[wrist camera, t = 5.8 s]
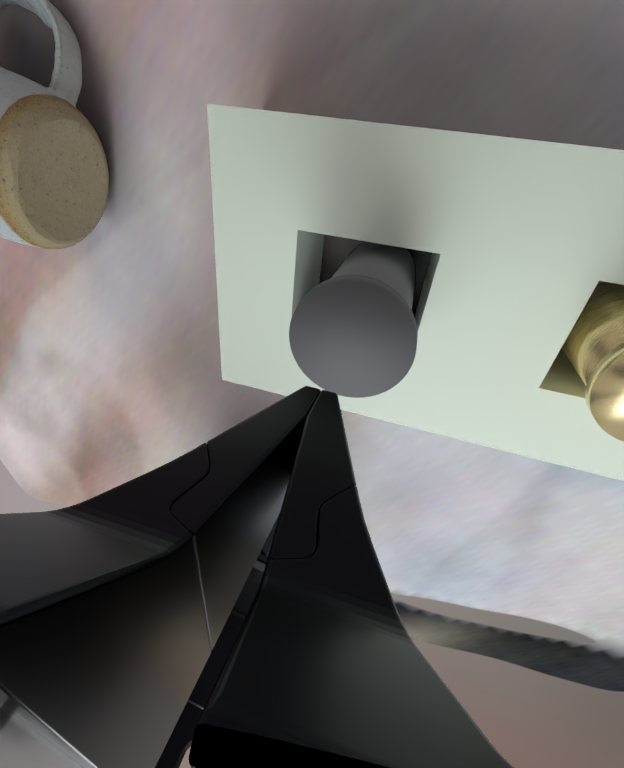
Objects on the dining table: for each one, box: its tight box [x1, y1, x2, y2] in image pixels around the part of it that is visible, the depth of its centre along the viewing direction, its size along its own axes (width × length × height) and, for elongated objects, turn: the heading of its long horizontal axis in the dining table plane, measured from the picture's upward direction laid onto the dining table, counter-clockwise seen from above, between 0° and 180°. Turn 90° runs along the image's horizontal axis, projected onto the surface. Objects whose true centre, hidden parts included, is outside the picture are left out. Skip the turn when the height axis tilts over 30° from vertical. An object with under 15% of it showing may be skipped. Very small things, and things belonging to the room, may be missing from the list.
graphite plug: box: [289, 241, 418, 398], centre depth 15 cm, size 4×4×8 cm
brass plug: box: [562, 281, 624, 442], centre depth 14 cm, size 4×4×8 cm
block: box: [207, 104, 624, 481], centre depth 16 cm, size 12×24×5 cm, turn 84°
